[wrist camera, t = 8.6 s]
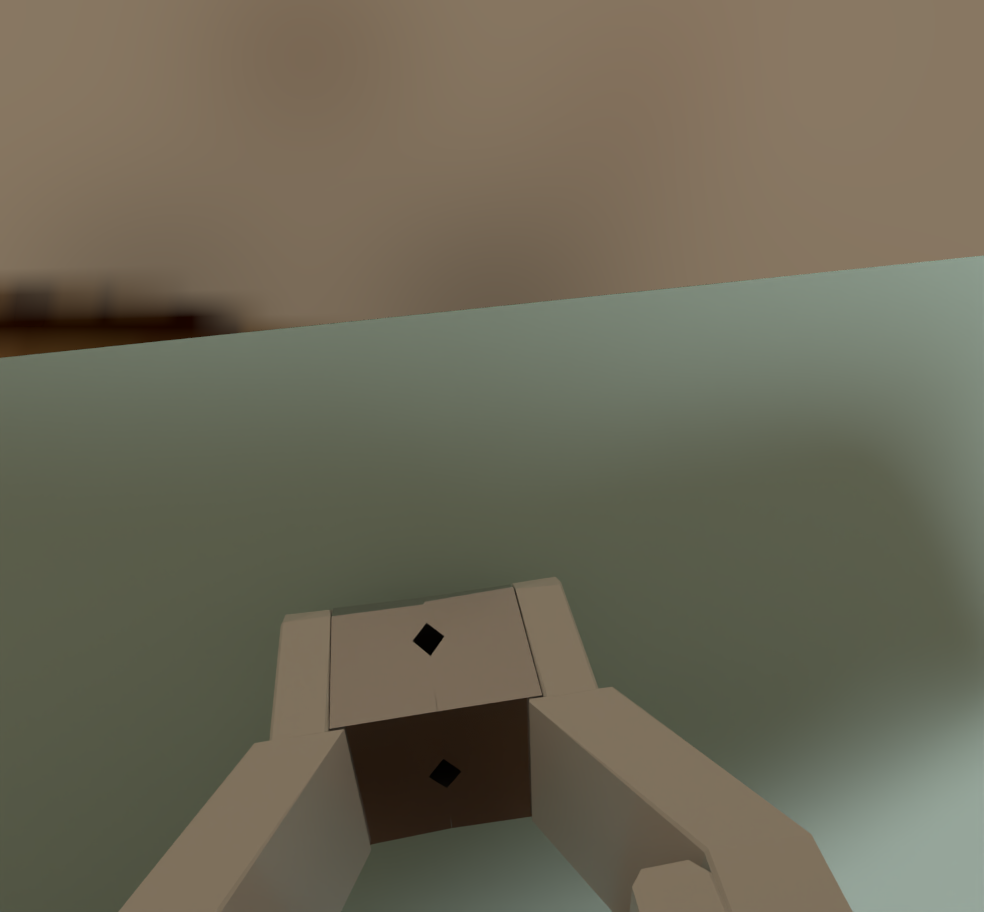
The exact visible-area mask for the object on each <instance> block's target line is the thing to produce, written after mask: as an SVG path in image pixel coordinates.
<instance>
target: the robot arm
mask: <svg viewBox="0 0 984 912" xmlns="http://www.w3.org/2000/svg"><path fill="white" fill-rule="evenodd" d="M450 817H451V818H450ZM525 817H532V821H533V822H534V823H535V824H536V825H537V827H538V828H539V829H540V830H541V831H542V832H543V833H544V835H545V836H546V837H547V838H548V839H549V840H550V841H551V843H552V844H553V845H554V846H555V847H556V848H557V849H558V851H559V852H560V853H561V854H562V855H563V856H564V857H565V858H566V860H567V861H568V862H569V863H570V864H571V865H572V866H573V868H574V869H575V870H576V871H577V872H578V873H579V874H580V876H581V877H582V878H583V879H584V880H585V881H586V882H587V884H588V885H589V886H590V887H591V888H592V889H593V890H594V891H595V893H596V894H597V895H598V896H599V897H600V898H601V899H602V901H603V902H604V903H605V904H606V905H607V906H608V907H609V909H610V910H611V911H612V912H853V911H852V909H851V908H850V906H849V904H848V902H847V900H846V898H845V896H844V894H843V893H842V891H841V889H840V887H839V885H838V883H837V881H836V879H835V878H834V876H833V874H832V872H831V870H830V868H829V866H828V864H827V863H826V861H825V859H824V857H823V855H822V853H821V851H820V849H819V848H818V846H817V844H816V842H815V840H814V838H813V836H812V834H810V833H809V832H808V831H806V830H805V829H804V828H802V827H801V826H800V825H798V824H797V823H796V822H794V821H793V820H792V819H790V818H789V817H788V816H786V815H785V814H784V813H782V812H781V811H779V810H778V809H777V808H775V807H774V806H773V805H771V804H770V803H769V802H767V801H766V800H765V799H763V798H762V797H761V796H759V795H758V794H757V793H755V792H754V791H753V790H751V789H750V788H748V787H747V786H746V785H744V784H743V783H742V782H740V781H739V780H738V779H736V778H735V777H734V776H732V775H731V774H730V773H728V772H727V771H726V770H724V769H723V768H721V767H720V766H719V765H717V764H716V763H715V762H713V761H712V760H711V759H709V758H708V757H707V756H705V755H704V754H703V753H701V752H700V751H699V750H697V749H696V748H695V747H693V746H692V745H690V744H689V743H688V742H686V741H685V740H684V739H682V738H681V737H680V736H678V735H677V734H676V733H674V732H673V731H672V730H670V729H669V728H668V727H666V726H665V725H664V724H662V723H661V722H659V721H658V720H657V719H655V718H654V717H653V716H651V715H650V714H649V713H647V712H646V711H645V710H643V709H642V708H641V707H639V706H638V705H637V704H635V703H634V702H633V701H631V700H630V699H628V698H627V697H626V696H624V695H623V694H622V693H620V692H619V691H618V690H616V689H615V688H614V687H606V688H598V686H597V683H596V680H595V677H594V674H593V671H592V669H591V666H590V663H589V660H588V657H587V654H586V652H585V649H584V646H583V643H582V640H581V637H580V635H579V632H578V629H577V626H576V623H575V620H574V618H573V615H572V612H571V609H570V606H569V603H568V601H567V598H566V595H565V592H564V589H563V586H562V584H561V582H560V581H559V580H558V579H557V578H556V577H550V578H543V579H537V580H531V581H524V582H518V583H512V586H511V585H510V584H509V585H502V586H495V587H489V588H482V589H475V590H469V591H462V592H455V593H449V594H442V595H435V596H429V597H423V598H415V599H407V600H398V601H390V602H381V603H373V604H364V605H356V606H348V607H339V608H333V610H323V611H314V612H305V613H296V614H287V615H285V617H284V619H283V622H282V624H281V627H280V637H279V648H278V658H277V668H276V678H275V688H274V698H273V708H272V718H271V728H270V739H269V741H264V742H258V743H254V744H253V745H252V747H251V748H250V749H249V750H248V752H247V753H246V754H245V755H244V757H243V758H242V759H241V760H240V762H239V763H238V764H237V765H236V766H235V768H234V769H233V770H232V771H231V773H230V774H229V775H228V776H227V778H226V779H225V780H224V781H223V783H222V784H221V785H220V786H219V788H218V789H217V790H216V791H215V792H214V794H213V795H212V796H211V797H210V799H209V800H208V801H207V802H206V804H205V805H204V806H203V807H202V809H201V810H200V811H199V812H198V814H197V815H196V816H195V817H194V819H193V820H192V821H191V822H190V823H189V825H188V826H187V827H186V828H185V830H184V831H183V832H182V833H181V835H180V836H179V837H178V838H177V840H176V841H175V842H174V843H173V845H172V846H171V847H170V848H169V850H168V851H167V852H166V853H165V854H164V856H163V857H162V858H161V859H160V861H159V862H158V863H157V864H156V866H155V867H154V868H153V869H152V871H151V872H150V873H149V874H148V876H147V877H146V878H145V879H144V881H143V882H142V883H141V884H140V885H139V887H138V888H137V889H136V890H135V892H134V893H133V894H132V895H131V897H130V898H129V899H128V900H127V902H126V903H125V904H124V905H123V907H122V908H121V909H120V910H119V911H118V912H341V911H342V909H343V907H344V905H345V903H346V901H347V899H348V896H349V894H350V892H351V890H352V888H353V886H354V884H355V882H356V880H357V878H358V876H359V874H360V872H361V870H362V868H363V866H364V864H365V862H366V860H367V858H368V856H369V854H370V852H371V846H370V845H372V844H376V843H381V842H386V841H391V840H396V839H401V838H406V837H411V836H416V835H421V834H426V833H431V832H435V831H440V830H445V829H450V828H457V827H464V826H470V825H477V824H484V823H491V822H498V821H505V820H511V819H518V818H525ZM451 824H452V827H451Z"/></svg>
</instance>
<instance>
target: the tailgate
mask: <svg viewBox="0 0 984 912" xmlns="http://www.w3.org/2000/svg"><path fill="white" fill-rule="evenodd" d="M550 577H556V578H557V579H558V580H559V581H560V582H561V584H562V586H563V589H564V592H565V595H566V598H567V601H568V603H569V606H570V609H571V612H572V615H573V618H574V620H575V623H576V626H577V629H578V632H579V635H580V637H581V640H582V643H583V646H584V649H585V652H586V654H587V657H588V660H589V663H590V666H591V669H592V671H593V674H594V677H595V680H596V683H597V686H598V688H606V687H614V688H615V689H616V690H618V691H619V692H620V693H622V694H623V695H624V696H626V697H627V698H628V699H630V700H631V701H633V702H634V703H635V704H637V705H638V706H639V707H641V708H642V709H643V710H645V711H646V712H647V713H649V714H650V715H651V716H653V717H654V718H655V719H657V720H658V721H659V722H661V723H662V724H664V725H665V726H666V727H668V728H669V729H670V730H672V731H673V732H674V733H676V734H677V735H678V736H680V737H681V738H682V739H684V740H685V741H686V742H688V743H689V744H690V745H692V746H693V747H695V748H696V749H697V750H699V751H700V752H701V753H703V754H704V755H705V756H707V757H708V758H709V759H711V760H712V761H713V762H715V763H716V764H717V765H719V766H720V767H721V768H723V769H724V770H726V771H727V772H728V773H730V774H731V775H732V776H734V777H735V778H736V779H738V780H739V781H740V782H742V783H743V784H744V785H746V786H747V787H748V788H750V789H751V790H753V791H754V792H755V793H757V794H758V795H759V796H761V797H762V798H763V799H765V800H766V801H767V802H769V803H770V804H771V805H773V806H774V807H775V808H777V809H778V810H779V811H781V812H782V813H784V814H785V815H786V816H788V817H789V818H790V819H792V820H793V821H794V822H796V823H797V824H798V825H800V826H801V827H802V828H804V829H805V830H806V831H808V832H809V833H810V834H812V836H813V838H814V840H815V842H816V844H817V846H818V848H819V849H820V851H821V853H822V855H823V857H824V859H825V861H826V863H827V864H828V866H829V868H830V870H831V872H832V874H833V876H834V878H835V879H836V881H837V883H838V885H839V887H840V889H841V891H842V893H843V894H844V896H845V898H846V900H847V902H848V904H849V906H850V908H851V909H852V911H853V912H984V256H976V257H966V258H957V259H947V260H938V261H929V262H918V263H909V264H899V265H889V266H880V267H870V268H861V269H851V270H842V271H832V272H822V273H813V274H803V275H794V276H784V277H774V278H765V279H755V280H745V281H736V282H726V283H716V284H707V285H697V286H688V287H678V288H668V289H659V290H649V291H639V292H630V293H620V294H610V295H601V296H591V297H582V298H572V299H563V300H553V301H543V302H533V303H524V304H514V305H505V306H495V307H486V308H476V309H466V310H457V311H447V312H437V313H428V314H418V315H408V316H399V317H390V318H380V319H370V320H360V321H351V322H341V323H331V324H322V325H312V326H303V327H293V328H283V329H274V330H264V331H254V332H245V333H235V334H226V335H216V336H206V337H197V338H187V339H177V340H168V341H158V342H149V343H139V344H129V345H120V346H110V347H101V348H91V349H81V350H72V351H62V352H52V353H43V354H33V355H24V356H14V357H4V358H0V912H118V911H119V910H120V909H121V908H122V907H123V905H124V904H125V903H126V902H127V900H128V899H129V898H130V897H131V895H132V894H133V893H134V892H135V890H136V889H137V888H138V887H139V885H140V884H141V883H142V882H143V881H144V879H145V878H146V877H147V876H148V874H149V873H150V872H151V871H152V869H153V868H154V867H155V866H156V864H157V863H158V862H159V861H160V859H161V858H162V857H163V856H164V854H165V853H166V852H167V851H168V850H169V848H170V847H171V846H172V845H173V843H174V842H175V841H176V840H177V838H178V837H179V836H180V835H181V833H182V832H183V831H184V830H185V828H186V827H187V826H188V825H189V823H190V822H191V821H192V820H193V819H194V817H195V816H196V815H197V814H198V812H199V811H200V810H201V809H202V807H203V806H204V805H205V804H206V802H207V801H208V800H209V799H210V797H211V796H212V795H213V794H214V792H215V791H216V790H217V789H218V788H219V786H220V785H221V784H222V783H223V781H224V780H225V779H226V778H227V776H228V775H229V774H230V773H231V771H232V770H233V769H234V768H235V766H236V765H237V764H238V763H239V762H240V760H241V759H242V758H243V757H244V755H245V754H246V753H247V752H248V750H249V749H250V748H251V747H252V745H253V744H254V743H258V742H264V741H269V739H270V728H271V718H272V708H273V698H274V688H275V678H276V668H277V658H278V648H279V637H280V627H281V624H282V622H283V619H284V617H285V615H287V614H296V613H305V612H314V611H323V610H333V608H339V607H348V606H356V605H364V604H373V603H381V602H390V601H398V600H407V599H415V598H423V597H429V596H435V595H442V594H449V593H455V592H462V591H469V590H475V589H482V588H489V587H495V586H502V585H509V584H510V585H511V586H512V583H518V582H524V581H531V580H537V579H543V578H550ZM450 818H451V817H450ZM451 827H452V824H451ZM370 846H371V852H370V854H369V856H368V858H367V860H366V862H365V864H364V866H363V868H362V870H361V872H360V874H359V876H358V878H357V880H356V882H355V884H354V886H353V888H352V890H351V892H350V894H349V896H348V899H347V901H346V903H345V905H344V907H343V909H342V911H341V912H612V911H611V910H610V909H609V907H608V906H607V905H606V904H605V903H604V902H603V901H602V899H601V898H600V897H599V896H598V895H597V894H596V893H595V891H594V890H593V889H592V888H591V887H590V886H589V885H588V884H587V882H586V881H585V880H584V879H583V878H582V877H581V876H580V874H579V873H578V872H577V871H576V870H575V869H574V868H573V866H572V865H571V864H570V863H569V862H568V861H567V860H566V858H565V857H564V856H563V855H562V854H561V853H560V852H559V851H558V849H557V848H556V847H555V846H554V845H553V844H552V843H551V841H550V840H549V839H548V838H547V837H546V836H545V835H544V833H543V832H542V831H541V830H540V829H539V828H538V827H537V825H536V824H535V823H534V822H533V821H532V817H525V818H518V819H511V820H505V821H498V822H491V823H484V824H477V825H470V826H464V827H457V828H450V829H445V830H440V831H435V832H431V833H426V834H421V835H416V836H411V837H406V838H401V839H396V840H391V841H386V842H381V843H376V844H372V845H370Z"/></svg>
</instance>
